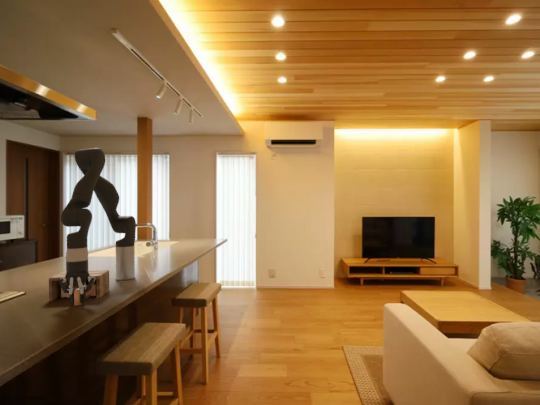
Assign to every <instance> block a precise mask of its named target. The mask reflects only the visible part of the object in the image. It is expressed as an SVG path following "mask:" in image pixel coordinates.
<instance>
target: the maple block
mask: <svg viewBox="0 0 540 405" xmlns="http://www.w3.org/2000/svg"><path fill="white" fill-rule="evenodd" d="M67 285H68V287H69V285H70V284H67ZM60 297H61V299H63V298H64V297H67V298H70V295H69V294H68V293H64V291H63V289H62V288H61V296H60Z"/></svg>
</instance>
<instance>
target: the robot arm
mask: <svg viewBox="0 0 540 405" xmlns="http://www.w3.org/2000/svg"><path fill="white" fill-rule="evenodd" d="M74 160H75V163H76V166H77V167H78V169H79V170H80V171H81V173H82V174H83V176H82V177H81V178H80V179H79V180H78V182H77V183H76V184H75V186H74V188H73V192H72V195H71V199H70V200H69V202H68V203H67V204H66V205H65V207H64V209H63V210H62V212H61V215H60V223H61V225H63V226H64V227H68V228H69V227H80V228H79V230H77V231H75V232H70V233H68V234H67V235H66V252H65V272H66V275H65V277H64V278H61V279H59V280H58V282H59V284H60V286H61V288H62V289H63V291H64V293H68V294H69V295H70V297H69V302H70V304H72V305H74V289H75V287H76V285H79V288H80V293H81V294H80V303H82V304H84V302H85V301H86V300H87V299H86V292H88V291H90V290H91V288H92V286H93V284H94V282H95V280H96V277H92V276H90V275H89V273H88V271H89V250H88V235H89V230H90V227H91V224H92V220H93V214H92V211H91V210H90V209H88V208H89V206H90V205H91V203H92V198H93V194H95V196H96V198H97V200H98V201H99V203H100V205H101V207H102V208H103V211H104V212H105V215H106V217H107V219H108V221H109V225H110V227H111V229H112V231H113V232H114V233H116V234H124V237H123V238H121V239H118V240H116V241H115V279H116V280H118V281H123V280H124V281H125V280H132V279H135V277H136V274H135V273H136V271H135V270H136V269H135V268H136V267H135V265H136V264H135V263H136V260H135V258H136V257H135V256H136V255H135V253H136V252H135V250H136V248H135V242H136V231H137V230H136V227H137V224H136V222H137V221H136V219H135V217H134V216H133V215H119V213H118V211H117V208H118V205H119V202H120V195H119V192H118V190H117V188H116V187H115V185H114V184H113V183H112V182H111V181H110V180H107V179H106V178H105V177H103V176H102V175H101V173H102V172H103V170H104V167H105V164H106V155H105V152H104V151H103V150H102V149H101V148H99V147H91V148H83V149H82V148H81V149H77V150H76V151H75V152H74ZM87 279H89V280H88V281H89V284H88V286H87V288H86V287H85V286H86V283H85V282H86V280H87ZM66 280H67V281H68V282H69V283H70V285H69V287H68V285H67V283H66V282H67V281H66Z"/></svg>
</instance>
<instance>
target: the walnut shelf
mask: <svg viewBox="0 0 540 405" xmlns="http://www.w3.org/2000/svg"><path fill="white" fill-rule="evenodd" d="M88 273H89V275H90V276H92V277H96V280H95V282H96V287H97V295H96V299H101V298H102V297H104V296H105V295H106V294H107V293H109V291H110V270H109V269H105V270H88ZM65 275H66V271H62V272H59V273H57V274H55V275H53V276H51V277H49V278H48V301H49V302H51V301H52V302H53V301H54V300H56V299H57V298H59V297H61V286H60V284H59V282H58V280H59V279H61V278H64V277H65ZM88 280H89V279H87V280H86V282H85V283H86V284H87V283H89V281H88ZM66 281H67V280H66ZM66 283H67V284H70V283H69V282H68V281H67V282H66ZM75 289H80V288H79V285H76V287H75ZM105 293H106V294H105ZM100 297H101V298H100Z"/></svg>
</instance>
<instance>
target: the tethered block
mask: <svg viewBox="0 0 540 405" xmlns="http://www.w3.org/2000/svg"><path fill="white" fill-rule="evenodd" d="M88 284H89V283H87V284H86V286H85V287H86V288H87V286H88ZM80 294H81V293H80V289H74V304H73V306H74V307H75V306H76V307H78V306H81V305H82V304H83V303H80ZM90 297H97V287H96V282H94V284H93V286H92V288H91V290H90V291H88V292H86V300H87V299H89V298H90Z"/></svg>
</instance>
